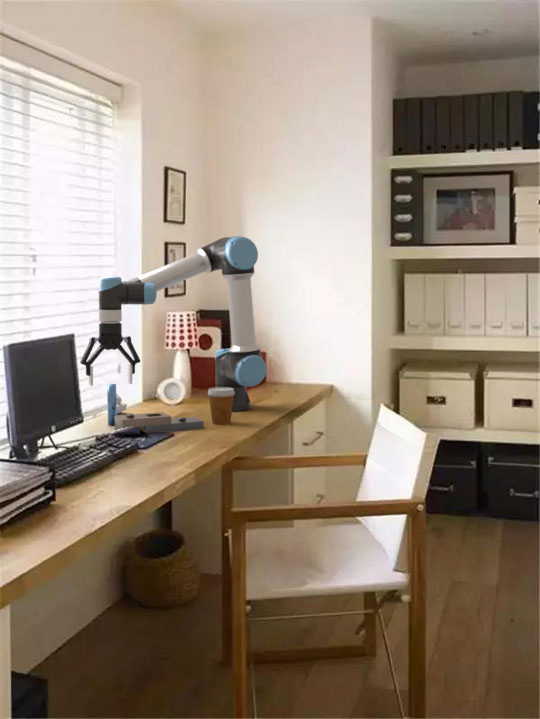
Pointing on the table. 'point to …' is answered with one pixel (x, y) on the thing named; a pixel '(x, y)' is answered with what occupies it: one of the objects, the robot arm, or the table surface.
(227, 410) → the disposable coffee cup
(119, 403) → the rubber duck
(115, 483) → the table surface
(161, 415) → the grey fixture block
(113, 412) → the pin
